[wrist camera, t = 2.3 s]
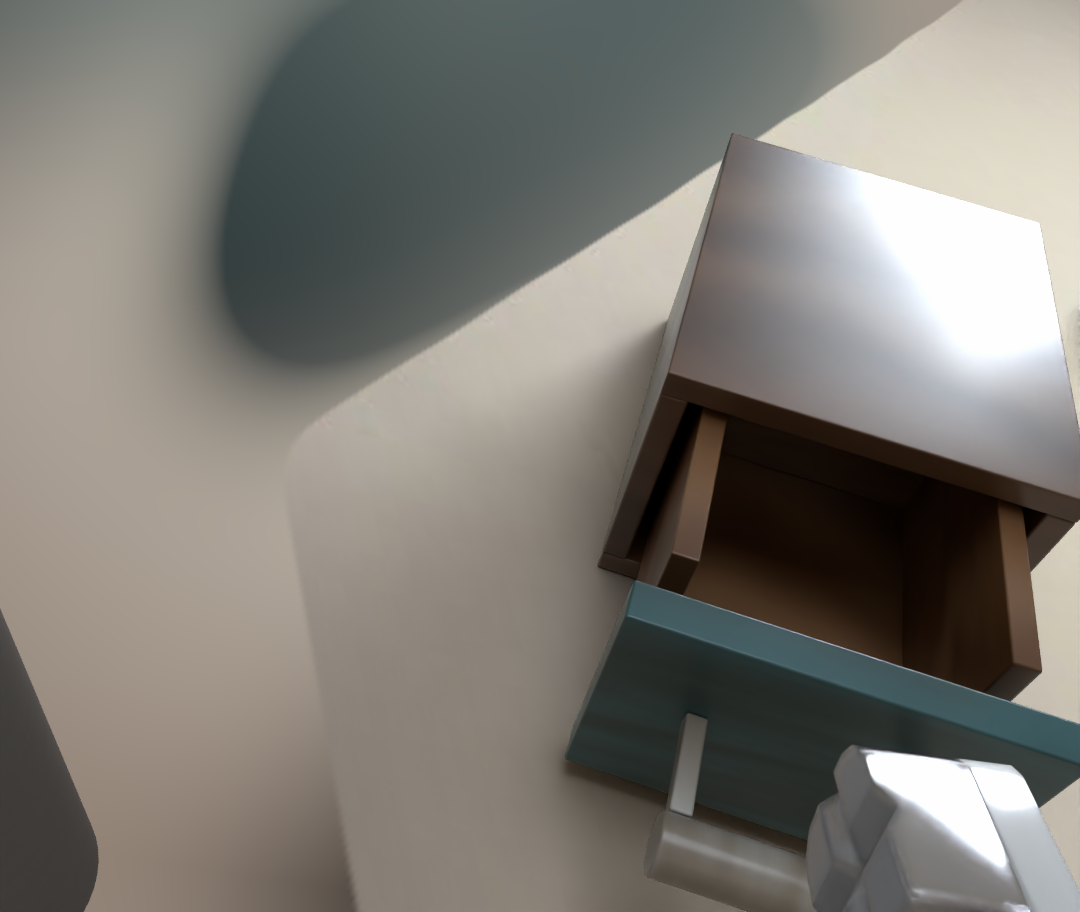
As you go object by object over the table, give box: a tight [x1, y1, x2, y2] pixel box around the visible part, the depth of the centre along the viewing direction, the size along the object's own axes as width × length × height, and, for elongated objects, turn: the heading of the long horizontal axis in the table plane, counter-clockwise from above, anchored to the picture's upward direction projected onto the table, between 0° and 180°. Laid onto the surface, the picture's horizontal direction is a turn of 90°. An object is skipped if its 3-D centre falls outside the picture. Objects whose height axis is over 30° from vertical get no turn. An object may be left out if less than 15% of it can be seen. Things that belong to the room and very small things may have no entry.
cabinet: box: [598, 133, 1080, 579], centre depth 37 cm, size 16×13×10 cm
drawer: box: [565, 402, 1080, 912], centre depth 30 cm, size 19×12×8 cm, turn 165°
